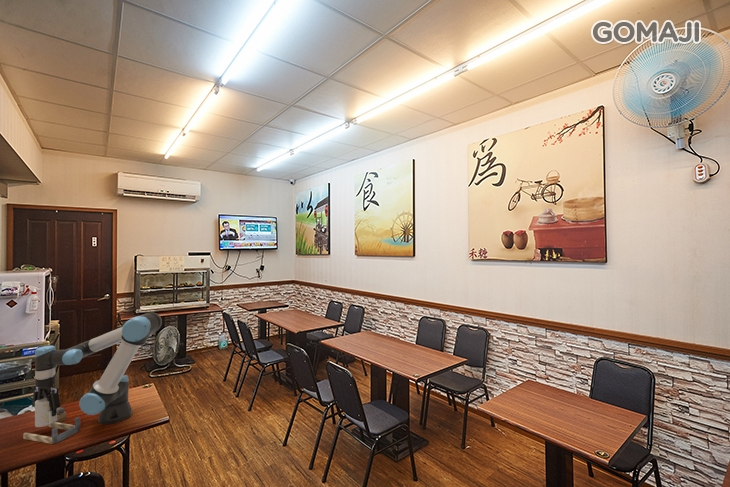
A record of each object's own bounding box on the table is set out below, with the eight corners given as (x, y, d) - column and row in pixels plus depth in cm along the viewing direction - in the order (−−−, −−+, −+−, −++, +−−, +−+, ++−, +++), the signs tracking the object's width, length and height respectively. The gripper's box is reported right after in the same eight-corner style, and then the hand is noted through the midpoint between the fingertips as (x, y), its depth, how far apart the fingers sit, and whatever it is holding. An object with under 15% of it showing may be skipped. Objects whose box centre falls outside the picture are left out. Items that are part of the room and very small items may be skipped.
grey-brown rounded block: (66, 419, 184) (66, 406, 184) (58, 423, 180) (58, 409, 180) (56, 417, 185) (56, 404, 185) (47, 421, 181) (47, 408, 181)
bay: (80, 430, 172) (80, 417, 172) (53, 444, 161) (54, 429, 161) (50, 426, 177) (51, 412, 177) (23, 438, 165) (23, 424, 165)
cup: (43, 427, 165) (42, 403, 165) (30, 426, 167) (30, 402, 167) (61, 419, 173) (60, 396, 173) (49, 418, 175) (48, 395, 175)
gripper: (69, 375, 171) (69, 419, 171) (38, 372, 176) (39, 415, 176) (52, 381, 164) (53, 427, 164) (21, 378, 169) (22, 423, 169)
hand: (46, 421), depth 170 cm, fingers closed on cup, 8 cm apart
